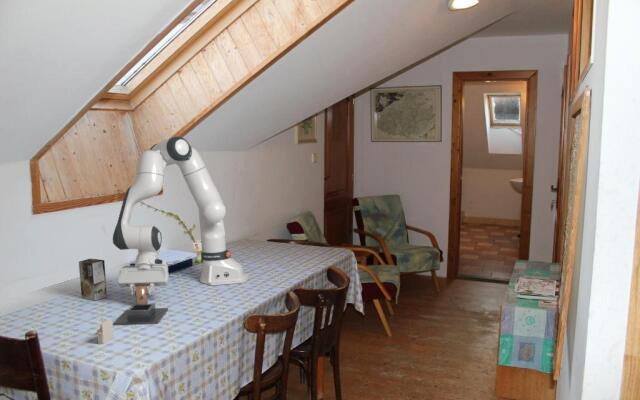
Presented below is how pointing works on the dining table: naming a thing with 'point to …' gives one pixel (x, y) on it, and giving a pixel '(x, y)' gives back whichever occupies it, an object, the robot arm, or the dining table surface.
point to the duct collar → (141, 315)
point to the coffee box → (93, 279)
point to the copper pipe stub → (141, 294)
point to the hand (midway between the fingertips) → (141, 294)
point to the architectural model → (105, 331)
